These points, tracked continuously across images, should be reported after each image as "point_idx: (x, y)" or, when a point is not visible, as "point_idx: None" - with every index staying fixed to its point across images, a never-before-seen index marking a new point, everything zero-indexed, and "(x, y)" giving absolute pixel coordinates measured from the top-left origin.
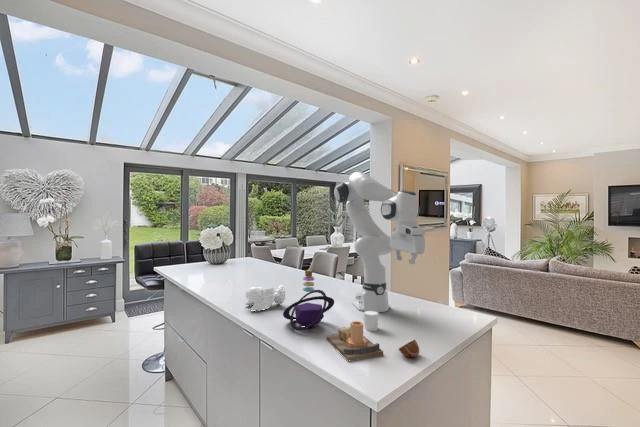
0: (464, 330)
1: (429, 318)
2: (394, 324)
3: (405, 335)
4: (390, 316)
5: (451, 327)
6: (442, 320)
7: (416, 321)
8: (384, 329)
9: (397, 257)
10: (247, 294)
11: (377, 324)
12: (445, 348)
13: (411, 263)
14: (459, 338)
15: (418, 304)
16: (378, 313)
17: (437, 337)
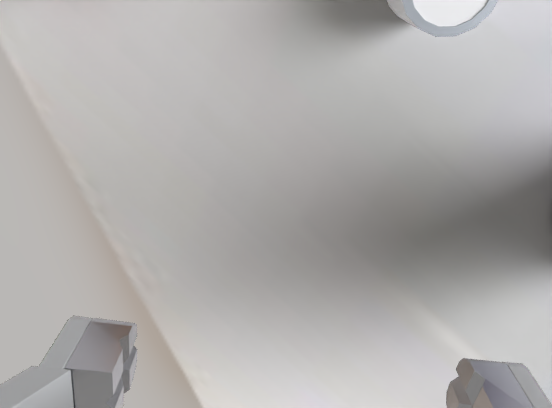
0: (200, 337)
1: (365, 322)
2: (395, 140)
3: (258, 90)
4: (488, 196)
5: (244, 321)
6: (320, 346)
7: (368, 254)
8: (370, 45)
9: (506, 391)
10: None
11: (392, 5)
12: (76, 144)
13: (71, 322)
14: (142, 265)
15: None
16: (415, 20)
17: (182, 200)
